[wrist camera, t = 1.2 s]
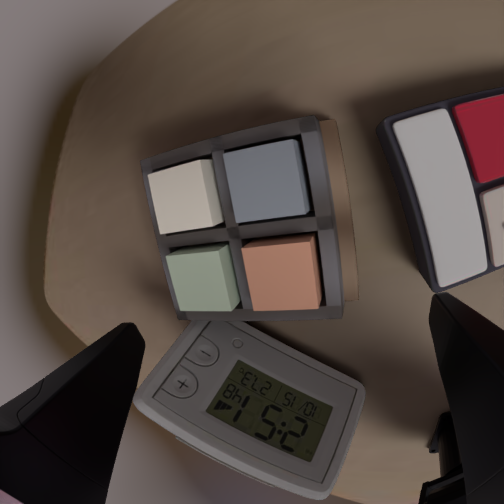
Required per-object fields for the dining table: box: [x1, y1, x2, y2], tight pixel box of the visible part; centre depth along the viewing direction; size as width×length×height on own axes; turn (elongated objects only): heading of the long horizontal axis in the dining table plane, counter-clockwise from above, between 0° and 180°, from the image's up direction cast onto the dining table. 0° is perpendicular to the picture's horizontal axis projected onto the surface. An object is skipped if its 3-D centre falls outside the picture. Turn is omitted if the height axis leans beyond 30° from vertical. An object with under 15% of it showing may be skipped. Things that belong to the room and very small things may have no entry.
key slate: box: [223, 139, 311, 223], centre depth 17 cm, size 4×4×2 cm
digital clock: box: [133, 320, 366, 500], centre depth 20 cm, size 16×9×11 cm, turn 56°
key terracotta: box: [241, 233, 323, 311], centre depth 18 cm, size 4×4×2 cm
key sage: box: [166, 242, 241, 311], centre depth 20 cm, size 4×4×2 cm
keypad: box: [140, 115, 359, 321], centre depth 20 cm, size 12×14×4 cm
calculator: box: [376, 87, 504, 293], centre depth 14 cm, size 11×4×15 cm
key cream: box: [148, 159, 225, 234], centre depth 19 cm, size 4×4×2 cm
